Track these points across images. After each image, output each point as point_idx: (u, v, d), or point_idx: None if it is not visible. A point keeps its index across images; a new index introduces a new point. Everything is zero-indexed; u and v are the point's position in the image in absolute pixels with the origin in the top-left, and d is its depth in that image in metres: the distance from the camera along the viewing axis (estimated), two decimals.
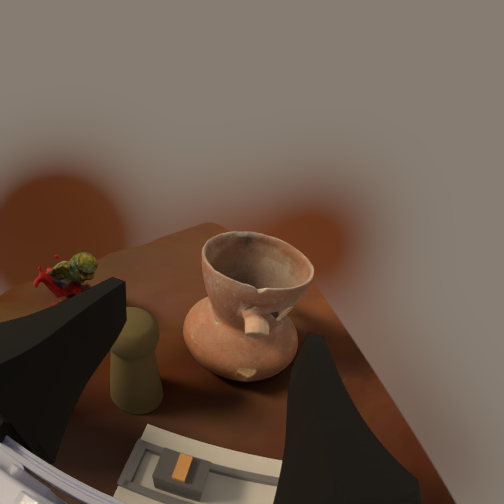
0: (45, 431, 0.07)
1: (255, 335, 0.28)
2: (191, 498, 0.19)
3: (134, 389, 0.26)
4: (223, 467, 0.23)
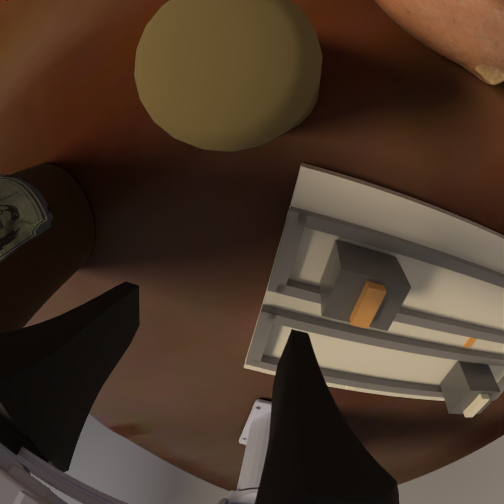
0: (60, 440, 0.07)
1: None
2: None
3: None
4: (420, 251, 0.16)
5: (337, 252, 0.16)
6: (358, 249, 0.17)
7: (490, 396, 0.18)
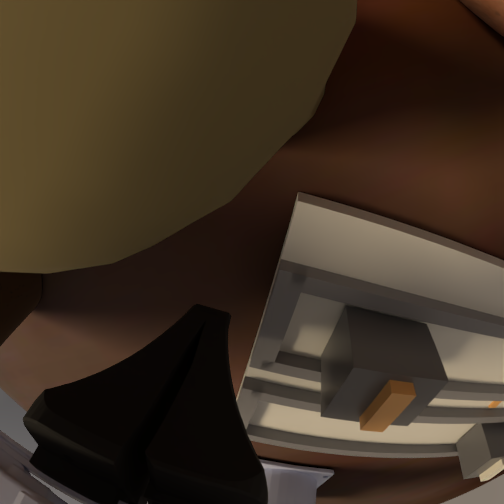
0: (146, 480, 0.07)
1: None
2: None
3: None
4: (460, 318, 0.11)
5: (348, 331, 0.11)
6: (377, 320, 0.11)
7: None
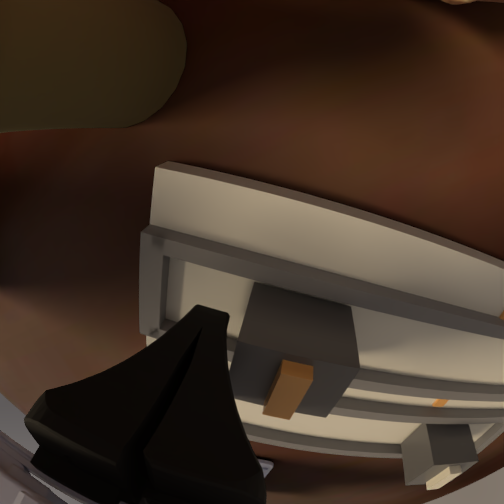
0: (148, 481, 0.07)
1: None
2: None
3: (71, 122, 0.08)
4: (351, 292, 0.11)
5: (247, 306, 0.11)
6: (286, 298, 0.12)
7: (464, 466, 0.12)
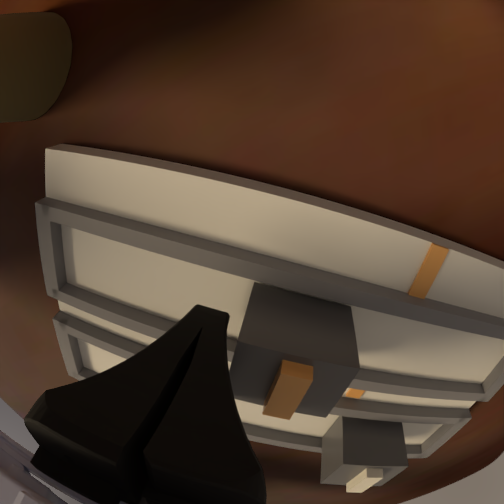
0: (148, 481, 0.07)
1: None
2: None
3: None
4: (195, 251, 0.11)
5: (247, 306, 0.11)
6: (286, 299, 0.12)
7: (390, 470, 0.12)
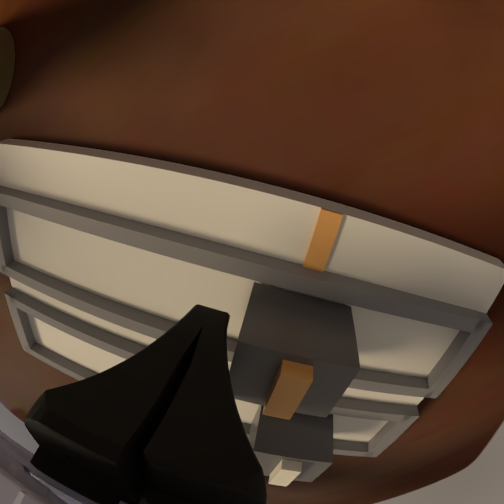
0: (148, 481, 0.07)
1: None
2: None
3: None
4: (92, 222, 0.12)
5: (247, 306, 0.11)
6: (286, 299, 0.12)
7: (313, 465, 0.13)
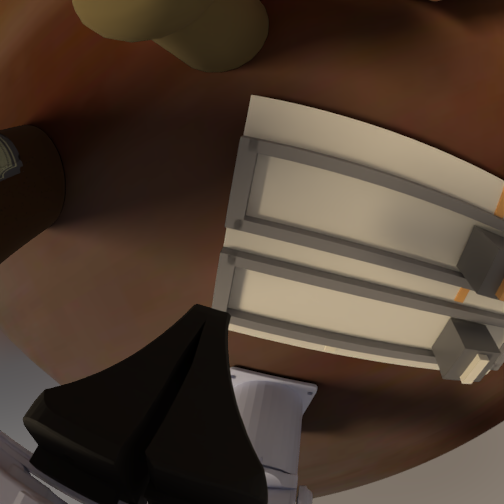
0: (146, 480, 0.07)
1: None
2: None
3: (208, 52, 0.12)
4: (387, 178, 0.15)
5: (484, 236, 0.15)
6: (492, 234, 0.15)
7: (490, 358, 0.16)
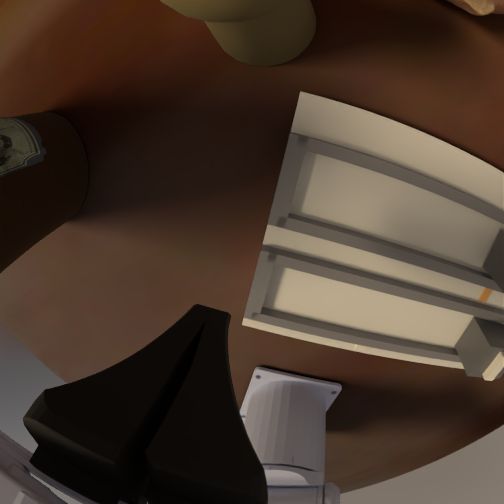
0: (146, 480, 0.07)
1: None
2: None
3: (266, 44, 0.12)
4: (428, 181, 0.15)
5: None
6: None
7: None
